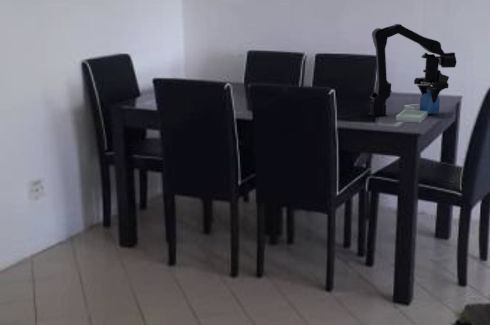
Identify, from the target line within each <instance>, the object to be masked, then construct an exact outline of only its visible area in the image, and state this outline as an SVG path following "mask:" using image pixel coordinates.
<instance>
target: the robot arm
mask: <svg viewBox="0 0 490 325" xmlns="http://www.w3.org/2000/svg"><path fill="white" fill-rule="evenodd" d="M395 35H399V36H402V37H404V38H406V39H408V40H411V41H412V42H414V43H415V44H418V45H419V46H420V47H421V48H423V49H424V50H425V51H426V52H425V53H423V54H422V55H421V59H422V58H423V59H425V68H424V69H423V71H422V72H423V73H424V77H423V76H421V77H415V79H413V84H414V85H417V87H418V89H419V91H420V93H421V97H422V96H423V94H424V93H427V86H433V88H430V90H431V96H432V101H433V103H435V102H436V100H437V97H438V98H439V95H440V93H441V92H442V91H443V90H445V89H449V85H450V84H449V83H448V82H449V78H450V76H449V75H445V74H443V73H442V72H441V70H440V69H439V66H440V67H441V68H443V69H445V68H447V69H448V68H456V66H457V57H456V53H455V52H445V51H444V49H442V45H441V42H440V41H439V40H435V39H432V38H428V37H425V36H423V35H421V34H419V33H417V32H415V31H413V30H411V29H409V28H407V27H405V26H403V25H402V24H399V23H395V24H394V25H389V26H386V27H383V28H380V27H376V28H374V30H373V31H372V32H371V37H372V40H373V41H372V43H373V45H374V48H375V60H376V77H377V78H376V83H375V89H374V91H373V93H372V94H371V95H370V96H369V98H370V105H369V107H370V108H369V113H368V115H369V116H372V117H375V118H376V117H386V116H387V115H388V114H386V113H387V105H386V104H387V103H386V102H387V100H388V99H389V98H390V97H391V93H392V92H393V91H392V83H391V82H390V81H388V79H387V76H388V75H387V58H386V55H387V54H386V48H387V44H388V38H391V37H393V36H395Z"/></svg>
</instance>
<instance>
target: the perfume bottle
mask: <svg viewBox="0 0 490 325" xmlns="http://www.w3.org/2000/svg"><path fill="white" fill-rule="evenodd" d="M430 88H433V86H432V85H431V86H427V93H424V94H423V96H422V95H421V97H420V100H419V101H420V102H419V104H420V109H419V111H428V113H427V115H431V114H432V115H433V114H439V113H440V103H441V102H440V100H441V99H440V98H439V96H438V97H437V100H436V102H435V103H433V101H432V96H431V90H430Z"/></svg>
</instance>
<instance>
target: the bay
mask: <svg viewBox="0 0 490 325" xmlns="http://www.w3.org/2000/svg"><path fill="white" fill-rule="evenodd" d="M402 108H403V110H416V111H420V103H413V104H404V105H403V107H402ZM403 110H402V111H403Z"/></svg>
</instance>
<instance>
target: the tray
mask: <svg viewBox="0 0 490 325" xmlns="http://www.w3.org/2000/svg"><path fill="white" fill-rule="evenodd" d="M427 113H428V111H420V110H402V111H401V112H400V113H398V114H397V115H395V122H404V123H405V122H407V123H420V124H421V122H423V121H424V120H425V119H426V118H427V117H428V114H427Z"/></svg>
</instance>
